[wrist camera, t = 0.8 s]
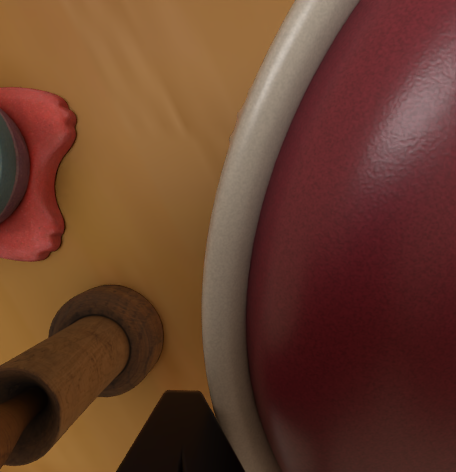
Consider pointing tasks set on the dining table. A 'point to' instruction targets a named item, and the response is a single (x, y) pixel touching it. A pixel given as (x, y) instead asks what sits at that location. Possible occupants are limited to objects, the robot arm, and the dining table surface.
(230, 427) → the canister
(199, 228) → the dining table surface
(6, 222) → the stacking bear
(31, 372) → the brown turned post
